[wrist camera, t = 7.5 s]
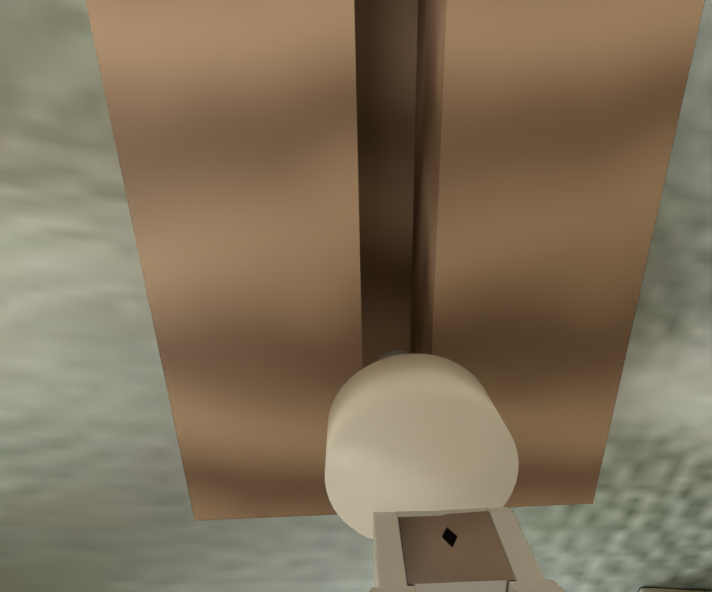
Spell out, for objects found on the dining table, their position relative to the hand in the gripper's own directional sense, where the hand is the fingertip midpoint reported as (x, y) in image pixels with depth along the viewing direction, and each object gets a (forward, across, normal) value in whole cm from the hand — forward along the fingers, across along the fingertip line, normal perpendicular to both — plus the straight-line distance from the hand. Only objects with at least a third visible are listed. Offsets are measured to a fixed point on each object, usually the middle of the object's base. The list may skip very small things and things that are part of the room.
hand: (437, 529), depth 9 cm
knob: (+7, 0, 0) cm, 7 cm away
